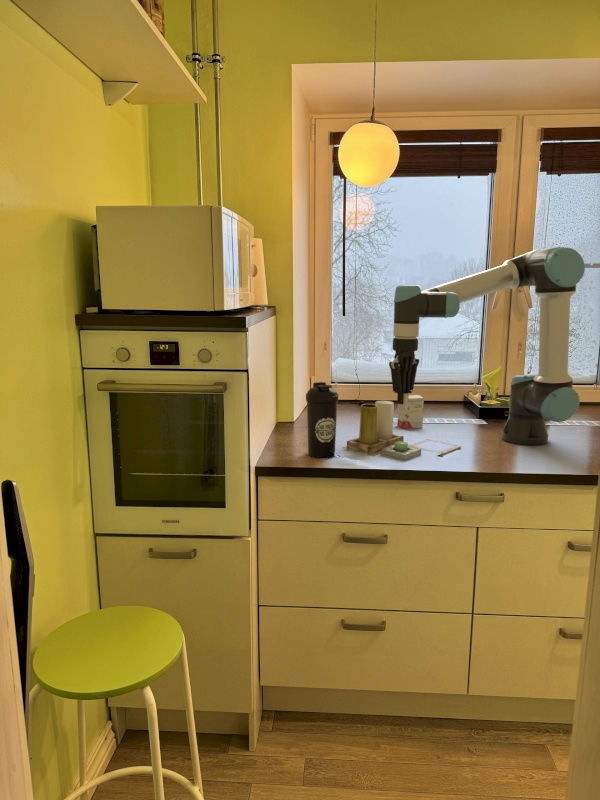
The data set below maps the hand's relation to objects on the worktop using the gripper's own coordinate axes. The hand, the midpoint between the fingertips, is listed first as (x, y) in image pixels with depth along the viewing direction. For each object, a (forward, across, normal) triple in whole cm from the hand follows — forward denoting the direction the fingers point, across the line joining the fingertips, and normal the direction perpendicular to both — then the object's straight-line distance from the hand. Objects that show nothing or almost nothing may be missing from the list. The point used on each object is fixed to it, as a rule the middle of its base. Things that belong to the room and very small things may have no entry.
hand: (402, 413), depth 182 cm
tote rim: (+14, -16, +2) cm, 22 cm away
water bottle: (+15, +15, -20) cm, 29 cm away
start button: (+11, 0, 0) cm, 11 cm away
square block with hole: (+14, 0, 0) cm, 14 cm away
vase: (+13, +2, -11) cm, 18 cm away
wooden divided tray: (+14, -2, -11) cm, 18 cm away
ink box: (+14, -36, -21) cm, 44 cm away
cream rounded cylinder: (+13, -6, -11) cm, 19 cm away
